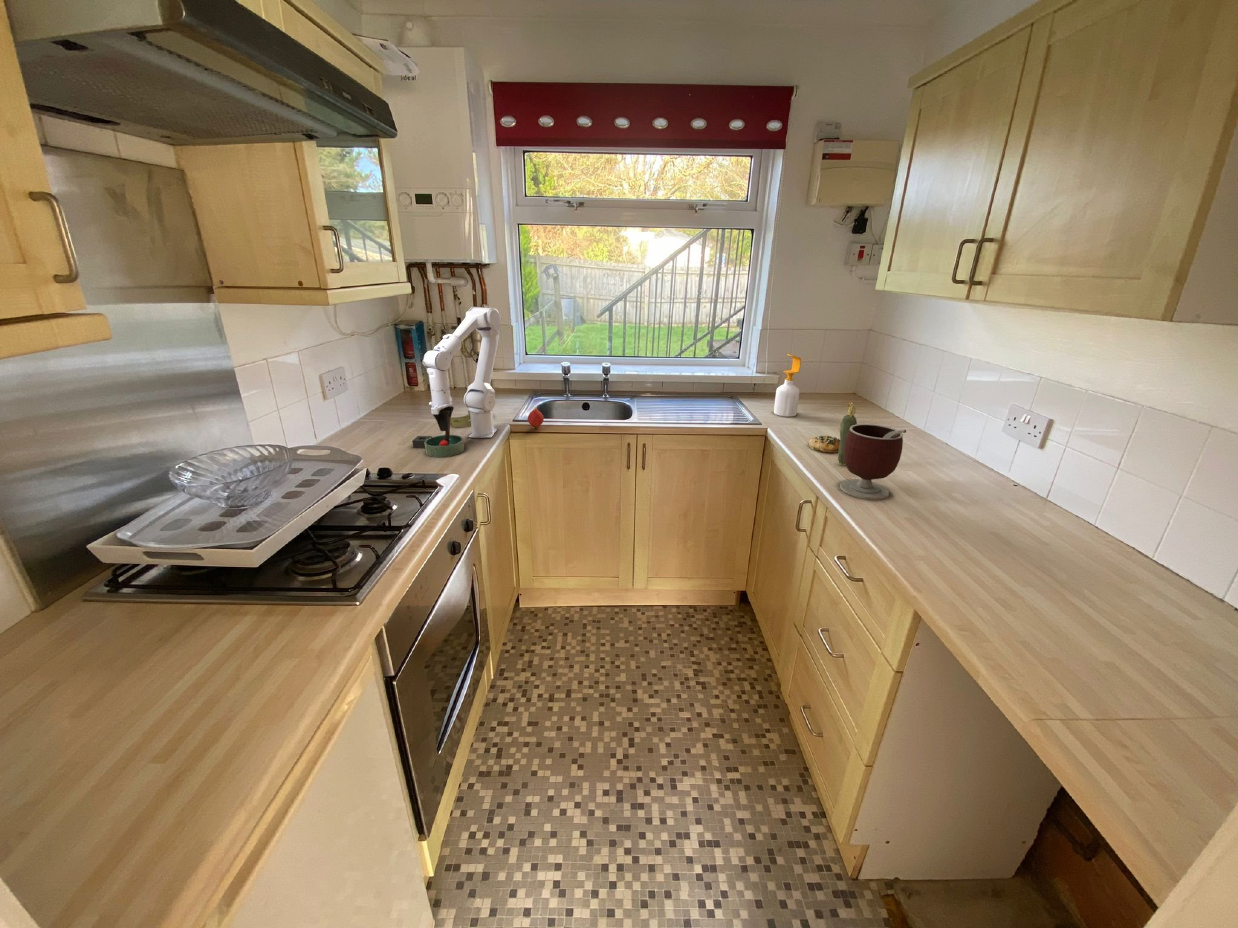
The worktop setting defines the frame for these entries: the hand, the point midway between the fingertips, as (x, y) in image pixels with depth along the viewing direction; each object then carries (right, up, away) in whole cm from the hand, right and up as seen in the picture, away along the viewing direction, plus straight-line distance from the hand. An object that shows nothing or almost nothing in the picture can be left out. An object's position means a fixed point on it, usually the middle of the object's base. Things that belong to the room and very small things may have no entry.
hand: (445, 429), depth 166 cm
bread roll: (+127, -6, +6) cm, 127 cm away
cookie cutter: (-1, +5, +32) cm, 32 cm away
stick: (0, -5, +2) cm, 5 cm away
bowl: (0, -7, 0) cm, 7 cm away
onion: (+26, +2, +24) cm, 35 cm away
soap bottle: (+126, +9, +45) cm, 134 cm away
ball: (0, -5, -1) cm, 5 cm away
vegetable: (+126, -12, -9) cm, 127 cm away
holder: (-9, -5, +5) cm, 11 cm away
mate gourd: (+125, -19, -27) cm, 129 cm away
